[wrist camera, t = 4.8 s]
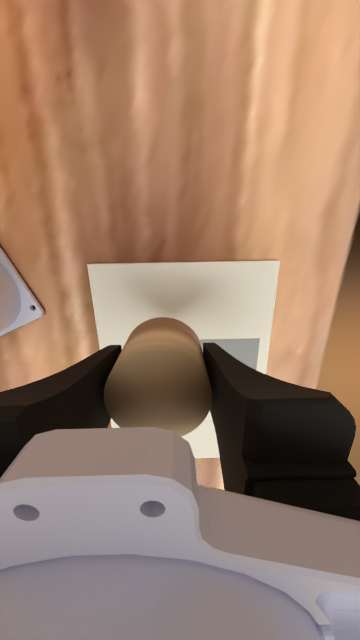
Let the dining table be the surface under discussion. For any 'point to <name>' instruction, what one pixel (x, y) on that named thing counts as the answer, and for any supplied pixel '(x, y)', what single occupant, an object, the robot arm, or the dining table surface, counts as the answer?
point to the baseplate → (191, 311)
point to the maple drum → (159, 379)
